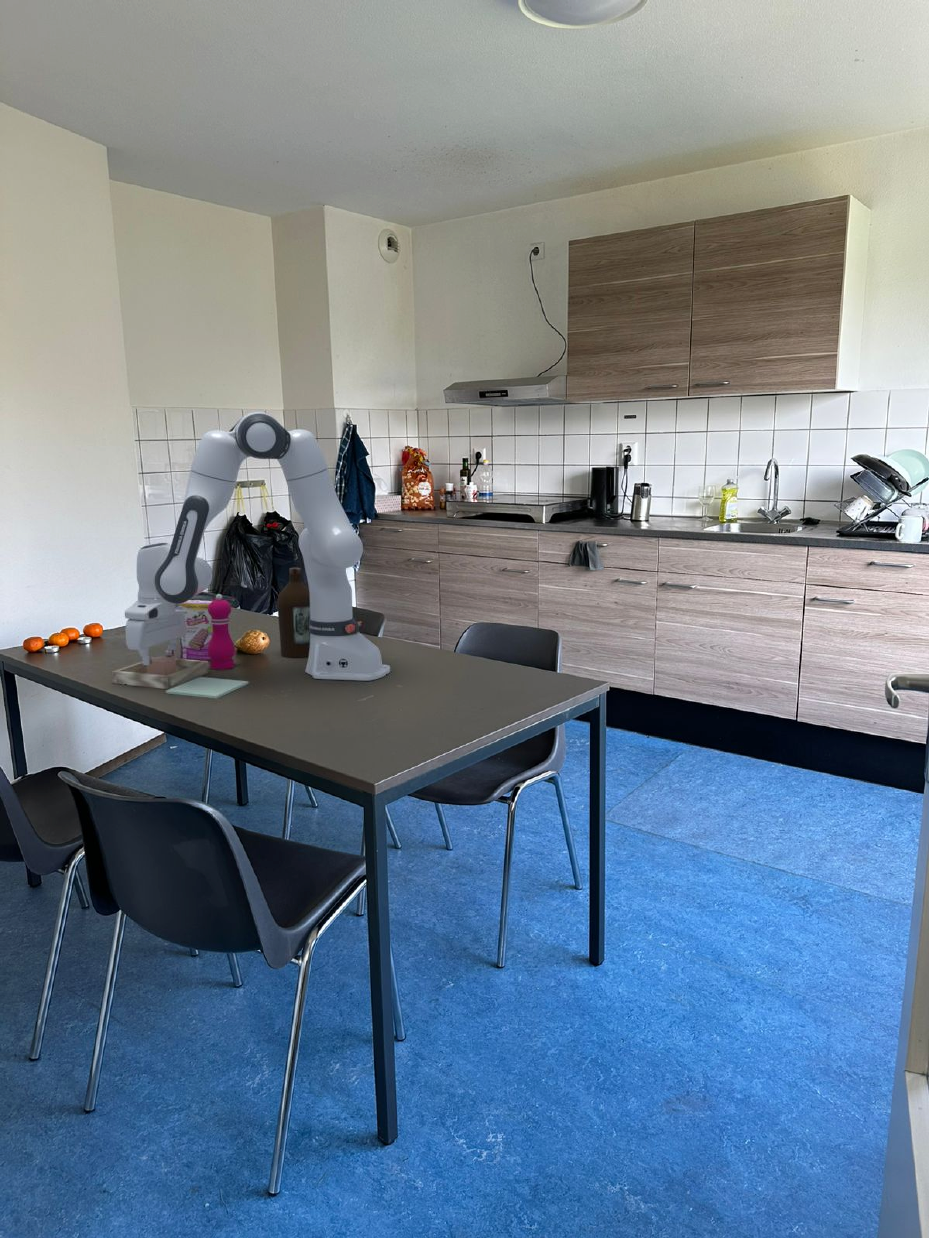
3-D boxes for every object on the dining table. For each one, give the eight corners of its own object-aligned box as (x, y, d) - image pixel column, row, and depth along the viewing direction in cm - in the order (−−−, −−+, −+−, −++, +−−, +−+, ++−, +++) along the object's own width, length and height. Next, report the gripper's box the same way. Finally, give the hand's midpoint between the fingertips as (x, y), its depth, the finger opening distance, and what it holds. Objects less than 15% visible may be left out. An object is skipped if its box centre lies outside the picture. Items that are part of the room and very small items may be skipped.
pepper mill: (228, 670, 230) (225, 596, 226) (203, 669, 232) (199, 595, 228) (240, 664, 237) (237, 592, 233) (216, 663, 239) (212, 591, 235)
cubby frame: (209, 672, 228) (208, 661, 228) (168, 689, 212) (167, 677, 212) (156, 667, 233) (156, 656, 233) (112, 683, 217) (111, 671, 216)
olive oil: (271, 653, 250) (268, 568, 245) (303, 648, 257) (300, 564, 252) (292, 660, 242) (289, 571, 238) (323, 654, 249) (321, 568, 245)
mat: (248, 683, 217) (248, 681, 217) (216, 698, 204) (216, 696, 204) (200, 679, 222) (200, 676, 221) (166, 693, 208) (165, 690, 208)
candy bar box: (180, 660, 241) (177, 602, 238) (187, 656, 246) (184, 599, 243) (219, 661, 240) (216, 603, 237) (225, 657, 245) (223, 600, 242)
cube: (176, 676, 224) (175, 657, 223) (164, 681, 220) (163, 662, 219) (160, 675, 226) (159, 656, 225) (147, 679, 221) (146, 660, 220)
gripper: (171, 600, 229) (173, 651, 232) (119, 612, 210) (122, 668, 213) (191, 601, 228) (193, 653, 230) (141, 614, 208) (144, 670, 211)
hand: (159, 660), depth 221 cm, fingers open, 8 cm apart
